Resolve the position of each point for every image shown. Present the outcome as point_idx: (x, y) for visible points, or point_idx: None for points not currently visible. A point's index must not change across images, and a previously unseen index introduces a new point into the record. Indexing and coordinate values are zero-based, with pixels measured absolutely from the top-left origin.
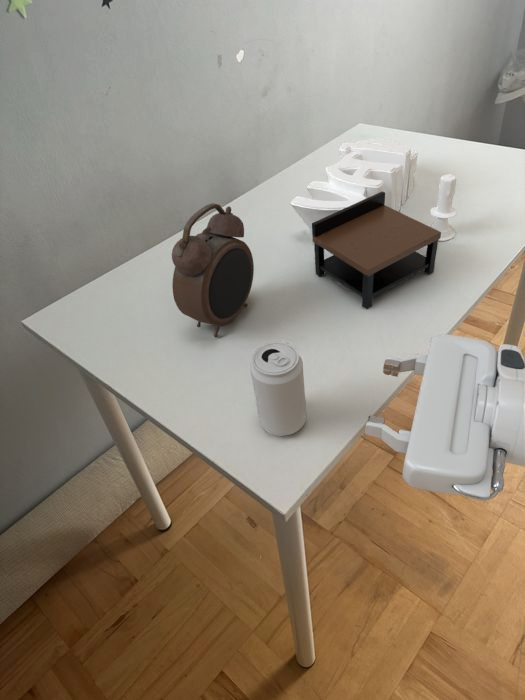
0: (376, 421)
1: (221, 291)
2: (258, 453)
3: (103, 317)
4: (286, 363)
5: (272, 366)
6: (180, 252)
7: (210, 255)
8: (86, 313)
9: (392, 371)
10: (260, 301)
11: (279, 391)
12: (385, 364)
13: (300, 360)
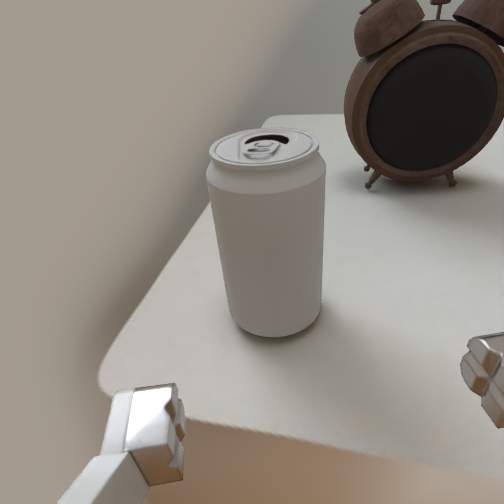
0: (140, 416)
1: (396, 107)
2: (191, 310)
3: (313, 131)
4: (257, 157)
5: (235, 149)
6: (366, 7)
7: (407, 28)
8: (309, 125)
9: (490, 389)
10: (481, 191)
11: (215, 207)
12: (478, 337)
13: (296, 177)
